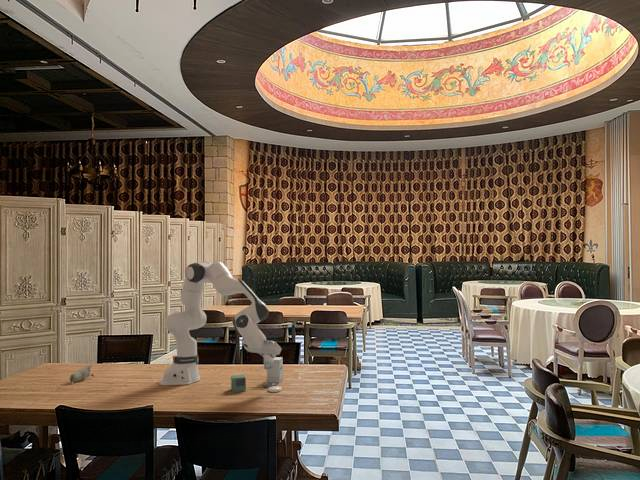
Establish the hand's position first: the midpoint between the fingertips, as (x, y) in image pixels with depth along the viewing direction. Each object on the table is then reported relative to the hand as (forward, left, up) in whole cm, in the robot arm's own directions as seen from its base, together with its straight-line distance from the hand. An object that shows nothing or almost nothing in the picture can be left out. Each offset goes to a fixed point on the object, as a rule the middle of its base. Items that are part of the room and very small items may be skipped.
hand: (269, 356), depth 260 cm
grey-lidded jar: (0, -1, -6) cm, 6 cm away
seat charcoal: (+2, +10, -18) cm, 20 cm away
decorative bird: (-101, +57, -18) cm, 117 cm away
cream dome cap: (+3, +1, -18) cm, 18 cm away
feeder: (-15, +8, -18) cm, 25 cm away
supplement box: (+6, +19, -18) cm, 26 cm away
